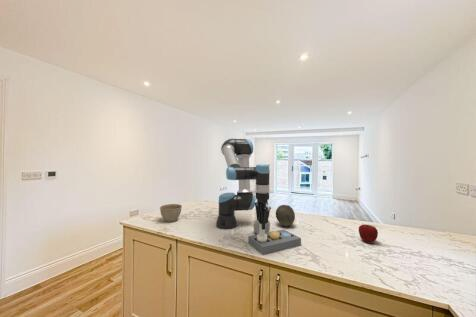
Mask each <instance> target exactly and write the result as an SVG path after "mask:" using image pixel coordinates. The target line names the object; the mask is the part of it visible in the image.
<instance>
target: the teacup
mask: <svg viewBox="0 0 476 317" xmlns="http://www.w3.org/2000/svg"><path fill="white" fill-rule="evenodd" d="M252 223H253V231H254V232H255V233H256V235H257V234H259V221H258V220H257V219H255V220H253V222H252ZM270 223H271V222H270V220H269V219H268V223H265V233H268V232H270V229H271V228H270V226H271V224H270Z"/></svg>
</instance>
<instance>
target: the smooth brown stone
mask: <svg viewBox="0 0 476 317" xmlns="http://www.w3.org/2000/svg"><path fill="white" fill-rule="evenodd" d="M275 218H276V220H277V221H278V223H279V224H280V225H282V226H283V227H290V226H292V225H293V224H294V222H295V220H296V219H295V218H296V214H295V211H294V209H293V207H292V206H290V205H288V204H287V205H286V204H281V205H279V206H278V207H277V208H276V210H275Z"/></svg>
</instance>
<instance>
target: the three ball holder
mask: <svg viewBox="0 0 476 317" xmlns="http://www.w3.org/2000/svg"><path fill="white" fill-rule="evenodd" d="M276 231H277V232H279V240H274V241H273V240H271V239H270V231H269V232H268V233H265V234H266V235H267V242H265V243H261V244H260V243H259V242H257V234H254V235H253V234H252V235H248V238H247V240H248V242H247V244H249V245H250V246H251V247H252V248H254V249H255V250H256V251H257V252H258V253H259V254H261V255H262V256H264V255H268V254H273V253H275V252H276V253H277V252H279V251H284V250H288V249H292V248H295V247H298V246H299V247H300V246H302V238H301V237H300V236H297V235H296V234H294V233H292V232H290V231H288V230H286V229H279V230H276ZM282 232H289V233H291V237H288V238H284V237H283V236H281V233H282Z"/></svg>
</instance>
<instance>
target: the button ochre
mask: <svg viewBox="0 0 476 317" xmlns="http://www.w3.org/2000/svg"><path fill="white" fill-rule="evenodd" d="M277 231H278V230H271V231H269V232H270V239H271V240H273V241H274V240H279V232H277Z"/></svg>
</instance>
